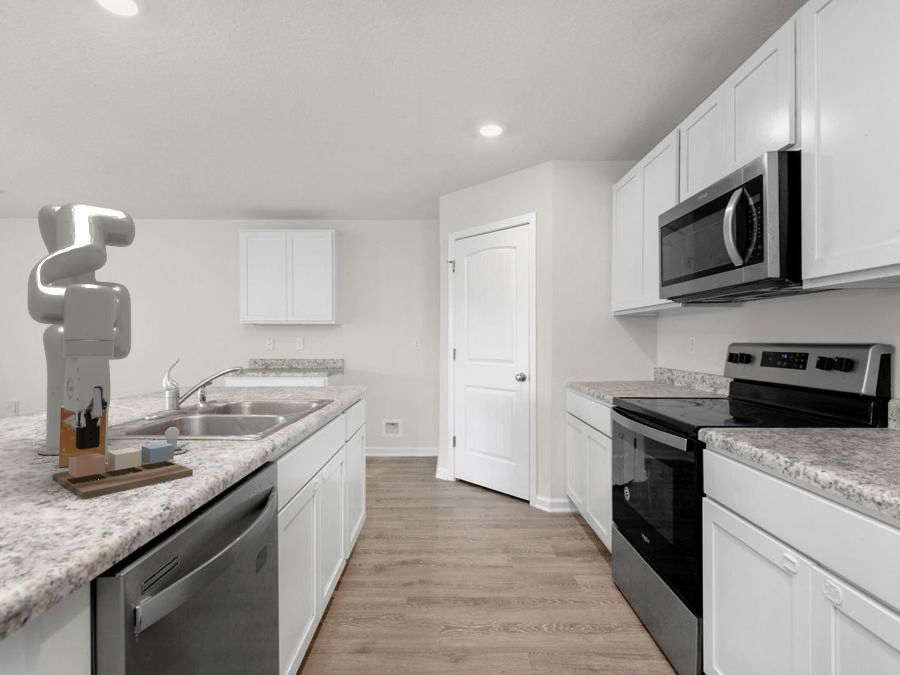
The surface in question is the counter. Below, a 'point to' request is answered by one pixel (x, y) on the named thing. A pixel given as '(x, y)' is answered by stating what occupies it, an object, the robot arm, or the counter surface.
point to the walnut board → (121, 478)
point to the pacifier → (174, 440)
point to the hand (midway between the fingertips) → (87, 447)
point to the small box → (69, 437)
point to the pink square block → (86, 465)
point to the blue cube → (157, 452)
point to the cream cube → (123, 458)
